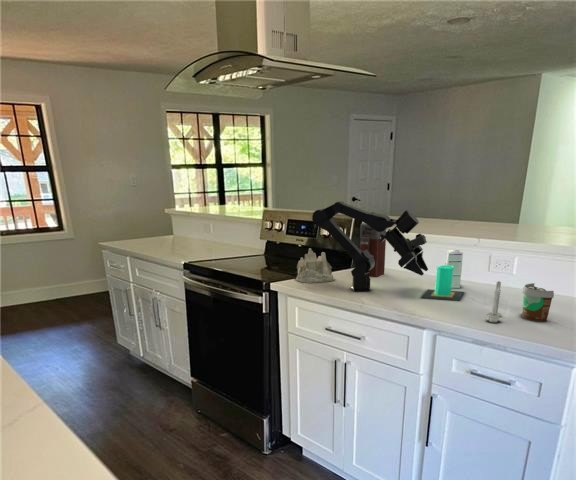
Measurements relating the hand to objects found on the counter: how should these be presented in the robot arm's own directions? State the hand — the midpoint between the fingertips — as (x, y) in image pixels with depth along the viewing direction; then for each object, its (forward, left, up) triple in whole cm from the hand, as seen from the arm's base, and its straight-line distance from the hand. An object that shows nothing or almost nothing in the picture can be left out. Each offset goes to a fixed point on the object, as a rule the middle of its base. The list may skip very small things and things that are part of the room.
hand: (425, 272), depth 195 cm
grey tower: (+16, +10, -9) cm, 21 cm away
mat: (+7, -4, -8) cm, 11 cm away
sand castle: (-38, +37, -9) cm, 54 cm away
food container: (+23, -39, -9) cm, 45 cm away
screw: (+10, -41, -9) cm, 43 cm away
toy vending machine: (-11, +41, -9) cm, 44 cm away
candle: (+6, -4, -8) cm, 11 cm away
